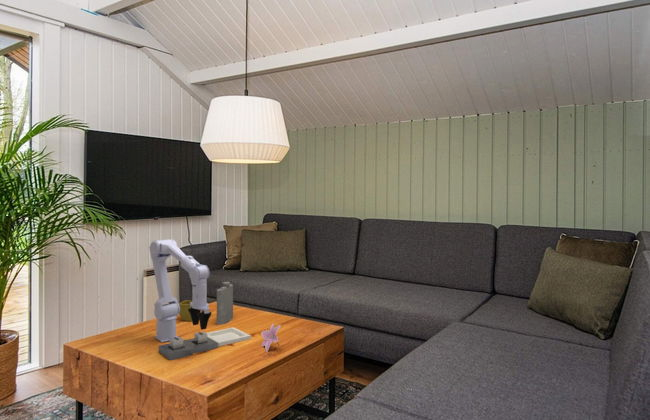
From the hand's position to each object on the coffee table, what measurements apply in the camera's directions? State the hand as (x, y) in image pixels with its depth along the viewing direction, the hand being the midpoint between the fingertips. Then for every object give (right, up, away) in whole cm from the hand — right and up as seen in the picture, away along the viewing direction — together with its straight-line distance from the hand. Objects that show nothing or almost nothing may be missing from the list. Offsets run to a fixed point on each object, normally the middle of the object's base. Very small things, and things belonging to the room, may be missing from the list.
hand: (199, 326), depth 188 cm
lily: (+30, -9, +1) cm, 31 cm away
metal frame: (-4, -9, -3) cm, 10 cm away
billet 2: (0, -9, +1) cm, 9 cm away
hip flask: (+2, -8, +39) cm, 40 cm away
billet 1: (-8, -9, -6) cm, 13 cm away
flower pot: (-17, -7, +41) cm, 45 cm away
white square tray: (+9, -9, +12) cm, 17 cm away
